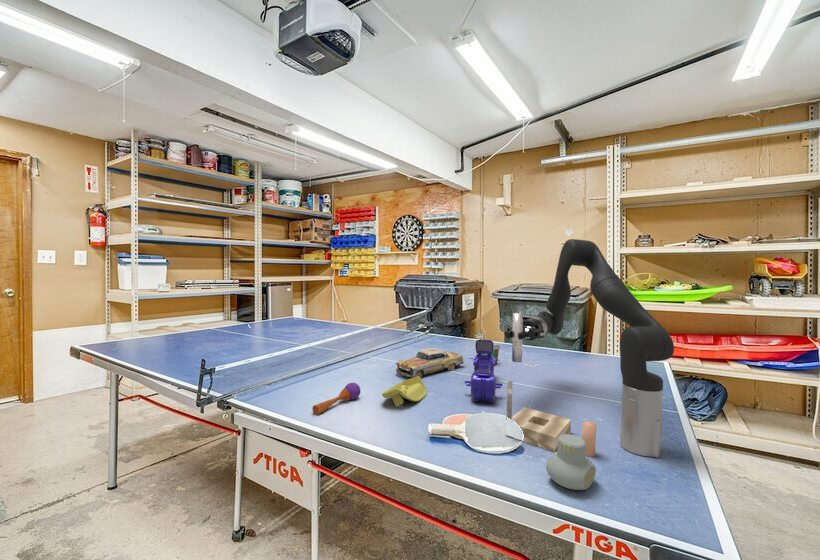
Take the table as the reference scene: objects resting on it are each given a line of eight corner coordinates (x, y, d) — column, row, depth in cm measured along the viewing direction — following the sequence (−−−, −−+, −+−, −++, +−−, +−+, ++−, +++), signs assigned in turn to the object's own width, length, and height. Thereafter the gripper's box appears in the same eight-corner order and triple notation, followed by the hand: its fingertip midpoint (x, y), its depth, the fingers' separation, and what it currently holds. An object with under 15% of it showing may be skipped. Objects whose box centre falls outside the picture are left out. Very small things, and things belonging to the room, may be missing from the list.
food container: (471, 362, 180) (471, 342, 180) (477, 360, 185) (478, 340, 184) (493, 367, 172) (493, 346, 171) (499, 365, 176) (500, 344, 176)
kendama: (308, 401, 121) (350, 380, 137) (311, 418, 121) (353, 395, 137) (320, 401, 118) (362, 380, 134) (323, 419, 118) (365, 396, 134)
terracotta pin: (596, 453, 97) (597, 423, 96) (593, 458, 94) (594, 427, 94) (583, 449, 99) (584, 420, 98) (580, 453, 96) (581, 424, 96)
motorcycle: (468, 374, 163) (468, 335, 162) (499, 376, 160) (500, 337, 159) (462, 404, 129) (463, 355, 128) (503, 408, 126) (504, 358, 125)
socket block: (570, 432, 108) (572, 379, 107) (554, 452, 97) (556, 392, 96) (524, 419, 117) (525, 370, 116) (505, 435, 106) (506, 381, 105)
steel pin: (523, 360, 123) (524, 313, 122) (519, 362, 120) (520, 314, 120) (514, 359, 125) (515, 312, 124) (510, 361, 122) (511, 313, 122)
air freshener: (563, 465, 91) (564, 426, 90) (598, 480, 85) (599, 438, 84) (541, 483, 83) (543, 441, 83) (578, 501, 77) (580, 455, 77)
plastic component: (399, 382, 144) (421, 374, 141) (406, 400, 143) (428, 393, 139) (376, 396, 126) (401, 387, 122) (384, 417, 124) (409, 408, 121)
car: (392, 375, 161) (392, 352, 160) (447, 361, 182) (447, 342, 182) (409, 382, 151) (409, 358, 151) (466, 367, 173) (466, 346, 172)
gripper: (515, 316, 137) (494, 322, 124) (553, 320, 129) (535, 326, 115) (514, 336, 138) (493, 344, 124) (553, 341, 129) (534, 350, 116)
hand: (514, 335), depth 120 cm, fingers closed on steel pin, 3 cm apart
